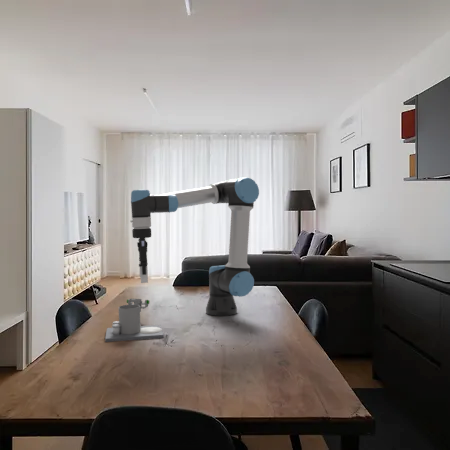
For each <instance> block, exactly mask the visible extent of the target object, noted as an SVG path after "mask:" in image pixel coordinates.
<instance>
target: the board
mask: <svg viewBox="0 0 450 450" xmlns="http://www.w3.org/2000/svg"><path fill="white" fill-rule="evenodd" d="M119 327H120V324H119V320H118V321H117V320H116V321H115V320H114V321H113V322H112V324H111V327H107V328H106V332H105V338H104V342H105V343H107V342H111V343H112V342H121V341H123V342H124V341H137V340H139V341H141V340H152V339H164V336H165V335H164V333H163V329H162V326H161V324H151V325H141V331H140V332H138V333H135V334H121V333H120V332H119Z"/></svg>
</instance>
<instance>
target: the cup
mask: <svg viewBox="0 0 450 450" xmlns="http://www.w3.org/2000/svg"><path fill="white" fill-rule="evenodd" d="M118 321H119V324H120V327H119V332H120V333H121V334H135V333H138V332H140V331H141V326H142V325H141V312H140V306H139V305H132V304H131V305H128V304H123V305H120V306H118Z"/></svg>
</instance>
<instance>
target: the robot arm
mask: <svg viewBox="0 0 450 450" xmlns="http://www.w3.org/2000/svg"><path fill="white" fill-rule="evenodd" d="M259 196H260V189H259V185H258V183H256V181H255V180H254V179H253V178H251V177H242V176H241V177H238V178H231V179H226V180H223V181H220V182H215V183H211V184H209V186H204V187H200V188H199V187H197V188H191V189H184V190H179V191H173V192H165V193H161V194H151V192H150V190H149V189H133V190H132V191H131V193H130V205H131V207H130V208H131V219H130V223H132V224H131V227H132V230H131V231H132V238H134V239H138V242H136V244H137V251H138V256H139V257H138V261H139V264H138V268H139V278H140V283H141V284H147V283H149V276H148V275H149V274H148V271H149V270H148V257H147V256H148V254H147V253H148V242H147V240H146V239H148V238H152V228H151V227H152V215H151V214H156V213H157V214H158V213H159V214H160V213H163V214H164V213H175V212H176V211H177V210H178V209H180V208H186V207H192V206H193V207H194V206H198V205H205V204H213V205H216V204H228V205H227V207H228V208H229V209H230V227H229V247H228V260H227V261H228V262H227V263H225V264H224V265H212V266H210V267H209V271H208V278H209V279H208V281H209V282H208V283H209V284H208V285H209V286H208V289H209V290H208V291H209V297H208V301H207V304H206V307H205V314H207V315H209V316H215V317H216V316H218V317H224V316H226V317H227V316H232V315H233V316H234V315H236V314H237V313H238V308H237V304H236V301H235V298H234V297H239V298H240V297H246V296H247V295H249V293H251V292H252V290H253V288H254V284H255V279H254V276H253V275H252V274H251V272H250V271H251V266H250V265H249V264H248V251H249V250H248V249H249V233H250V215H251V211H252V210H253V209H254V206H255V205H254V203H255V202H256V201H257V200H258V198H259Z"/></svg>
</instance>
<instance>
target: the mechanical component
mask: <svg viewBox="0 0 450 450" xmlns="http://www.w3.org/2000/svg"><path fill="white" fill-rule="evenodd" d="M126 303H127V305H131V304H132V305H139V306H140V313H141V312H142V309H147V308H148V307H149V304H150V300H149V299H145V300H144V302H143V301H142V298H129V299H126ZM143 305H144V306H143Z"/></svg>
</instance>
